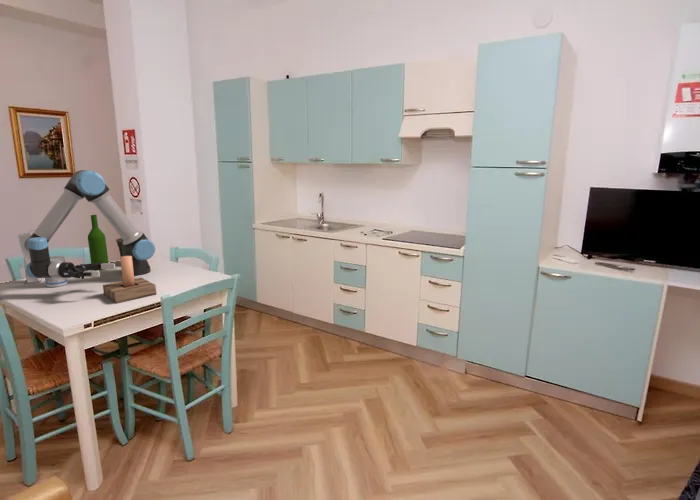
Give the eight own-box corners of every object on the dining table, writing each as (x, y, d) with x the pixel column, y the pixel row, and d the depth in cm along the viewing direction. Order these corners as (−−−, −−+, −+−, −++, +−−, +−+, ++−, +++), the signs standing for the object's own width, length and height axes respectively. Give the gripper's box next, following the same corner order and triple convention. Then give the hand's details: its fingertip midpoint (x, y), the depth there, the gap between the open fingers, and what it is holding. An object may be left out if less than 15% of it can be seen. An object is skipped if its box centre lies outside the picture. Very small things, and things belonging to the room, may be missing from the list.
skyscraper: (45, 278, 229) (37, 228, 223) (43, 282, 222) (34, 230, 216) (26, 280, 225) (17, 229, 219) (23, 284, 218) (14, 232, 212)
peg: (122, 292, 202) (118, 256, 198) (133, 290, 206) (129, 255, 202) (126, 294, 199) (122, 258, 195) (137, 292, 202) (133, 257, 198)
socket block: (103, 294, 202) (102, 284, 201) (142, 286, 215) (141, 277, 214) (116, 303, 190) (115, 293, 189) (156, 294, 203) (155, 284, 202)
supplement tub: (41, 287, 213) (37, 260, 210) (53, 282, 222) (49, 255, 219) (61, 287, 213) (56, 259, 210) (72, 282, 222) (68, 255, 219)
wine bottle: (94, 267, 252) (87, 214, 245) (111, 266, 255) (104, 213, 248) (89, 271, 244) (82, 216, 237) (106, 270, 246) (99, 215, 239)
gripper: (79, 270, 212) (121, 270, 213) (45, 285, 188) (93, 285, 188) (77, 256, 211) (119, 256, 211) (43, 269, 186) (90, 269, 187)
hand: (107, 270), depth 200 cm, fingers open, 13 cm apart
